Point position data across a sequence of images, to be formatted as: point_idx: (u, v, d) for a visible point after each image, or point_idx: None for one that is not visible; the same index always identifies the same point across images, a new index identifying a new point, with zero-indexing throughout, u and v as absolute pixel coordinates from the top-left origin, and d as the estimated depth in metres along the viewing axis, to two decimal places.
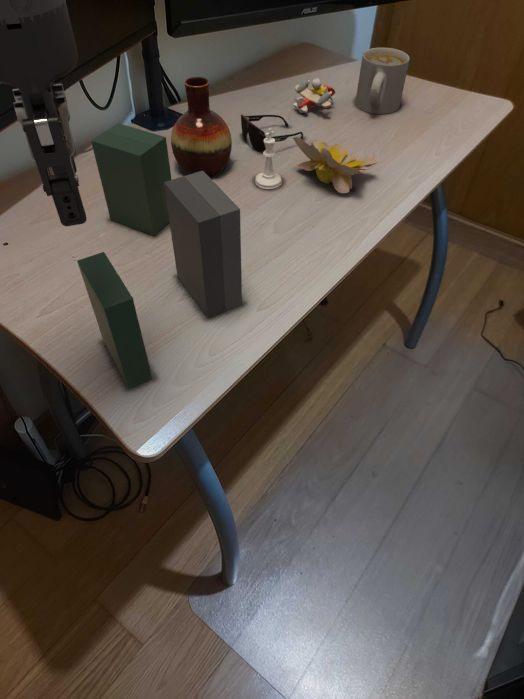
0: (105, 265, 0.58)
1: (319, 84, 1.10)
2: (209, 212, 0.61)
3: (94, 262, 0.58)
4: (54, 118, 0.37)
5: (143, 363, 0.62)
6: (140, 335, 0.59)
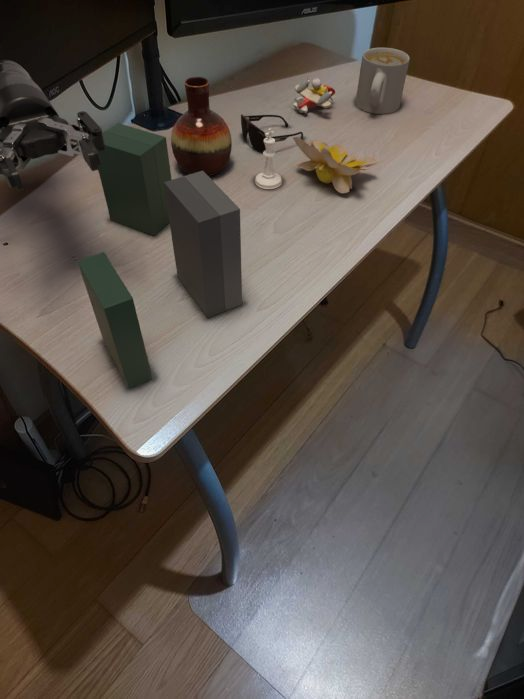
0: (105, 265, 0.58)
1: (319, 84, 1.10)
2: (209, 212, 0.61)
3: (94, 262, 0.58)
4: None
5: (143, 363, 0.62)
6: (140, 335, 0.59)
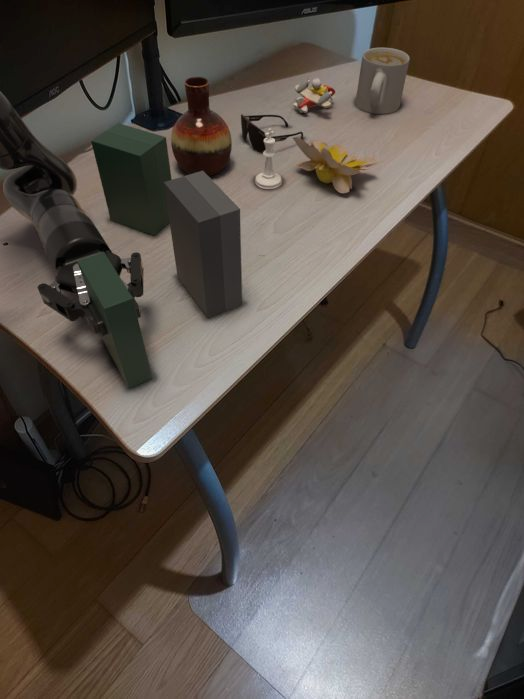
0: (105, 265, 0.58)
1: (319, 84, 1.10)
2: (209, 212, 0.61)
3: (94, 262, 0.58)
4: None
5: (143, 363, 0.62)
6: (140, 335, 0.59)
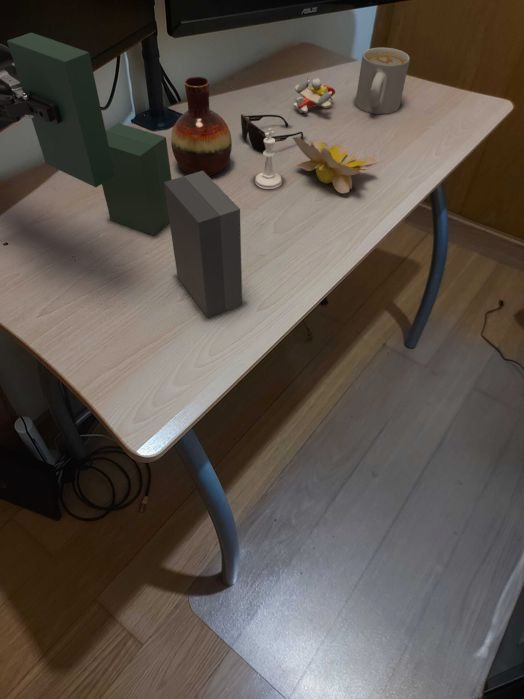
0: (41, 39, 0.55)
1: (319, 84, 1.10)
2: (209, 212, 0.61)
3: (27, 39, 0.54)
4: None
5: (105, 151, 0.60)
6: (100, 109, 0.57)
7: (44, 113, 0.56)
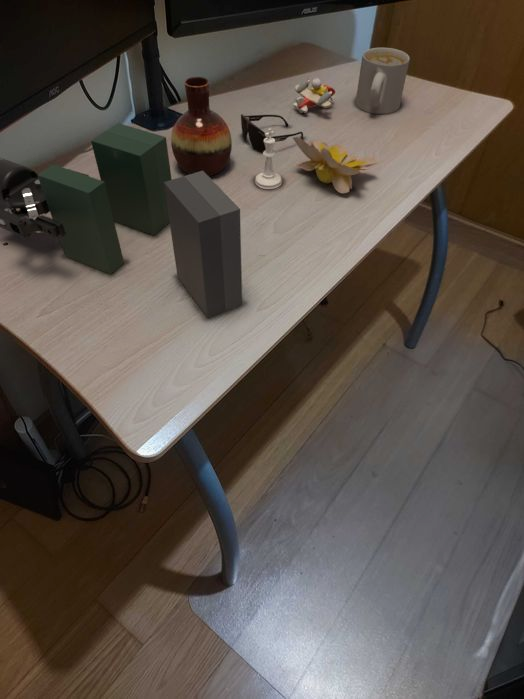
0: (64, 171, 0.71)
1: (319, 84, 1.10)
2: (209, 212, 0.61)
3: (52, 172, 0.70)
4: None
5: (117, 247, 0.77)
6: (112, 218, 0.73)
7: (52, 231, 0.71)
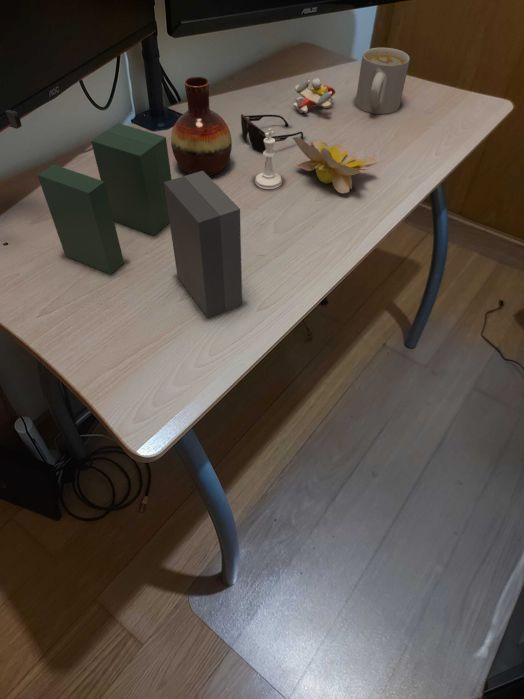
0: (64, 171, 0.71)
1: (319, 84, 1.10)
2: (209, 212, 0.61)
3: (52, 172, 0.70)
4: None
5: (117, 247, 0.77)
6: (112, 218, 0.73)
7: None
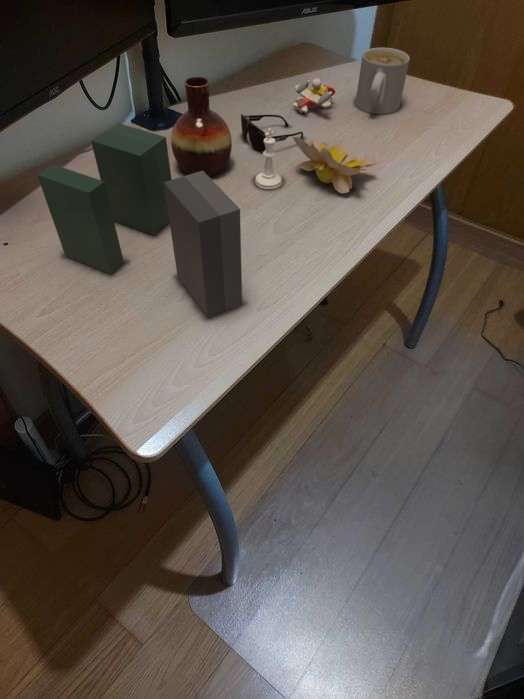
0: (63, 171, 0.71)
1: (319, 84, 1.10)
2: (209, 212, 0.61)
3: (52, 172, 0.70)
4: None
5: (117, 246, 0.77)
6: (112, 218, 0.73)
7: None
